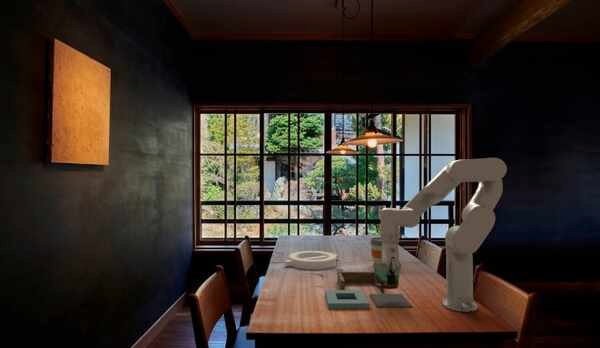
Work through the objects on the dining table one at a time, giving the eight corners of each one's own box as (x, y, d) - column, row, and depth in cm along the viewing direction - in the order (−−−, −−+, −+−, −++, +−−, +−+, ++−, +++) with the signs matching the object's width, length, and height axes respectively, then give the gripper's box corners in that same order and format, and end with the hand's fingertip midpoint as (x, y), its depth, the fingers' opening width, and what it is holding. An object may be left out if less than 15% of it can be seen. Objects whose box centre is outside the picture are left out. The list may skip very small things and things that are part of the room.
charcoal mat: (412, 307, 136) (412, 305, 136) (376, 307, 136) (376, 305, 136) (401, 295, 150) (401, 293, 150) (369, 295, 150) (369, 294, 150)
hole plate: (369, 308, 135) (369, 303, 135) (328, 308, 135) (328, 303, 135) (361, 294, 151) (361, 290, 151) (325, 294, 151) (325, 290, 151)
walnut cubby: (384, 292, 154) (384, 281, 154) (341, 292, 154) (341, 281, 154) (376, 281, 170) (376, 271, 170) (337, 281, 170) (337, 271, 170)
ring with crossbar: (339, 260, 217) (339, 252, 217) (331, 271, 190) (331, 262, 190) (296, 257, 224) (296, 249, 224) (282, 268, 197) (282, 259, 197)
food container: (379, 291, 138) (379, 265, 138) (372, 286, 144) (372, 262, 144) (407, 288, 141) (407, 264, 141) (399, 284, 147) (399, 260, 147)
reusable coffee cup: (368, 262, 208) (368, 237, 208) (388, 262, 209) (388, 237, 209) (373, 268, 196) (373, 241, 196) (395, 267, 196) (395, 241, 197)
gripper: (405, 242, 135) (404, 288, 135) (392, 234, 152) (392, 276, 152) (385, 242, 135) (385, 288, 135) (375, 234, 152) (375, 276, 152)
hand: (389, 281), depth 143 cm, fingers closed on food container, 5 cm apart
